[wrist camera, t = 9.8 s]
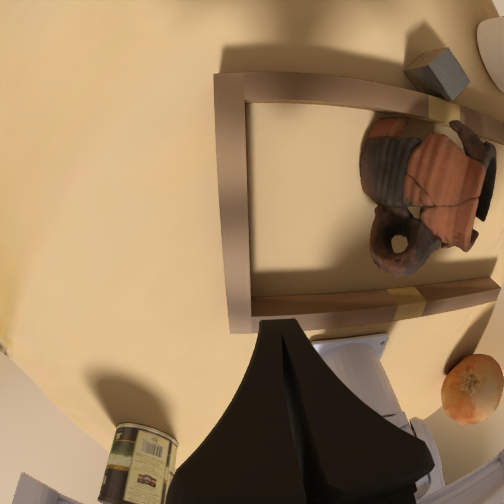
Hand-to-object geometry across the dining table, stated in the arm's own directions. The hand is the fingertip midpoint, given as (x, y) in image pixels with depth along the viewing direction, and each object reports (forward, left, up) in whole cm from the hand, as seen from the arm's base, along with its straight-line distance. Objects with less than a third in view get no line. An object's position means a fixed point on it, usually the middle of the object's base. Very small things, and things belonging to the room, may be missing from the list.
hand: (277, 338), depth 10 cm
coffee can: (-33, +18, -10) cm, 39 cm away
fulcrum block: (+13, -12, -10) cm, 20 cm away
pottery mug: (+4, -11, -10) cm, 15 cm away
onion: (-20, -28, -10) cm, 36 cm away
